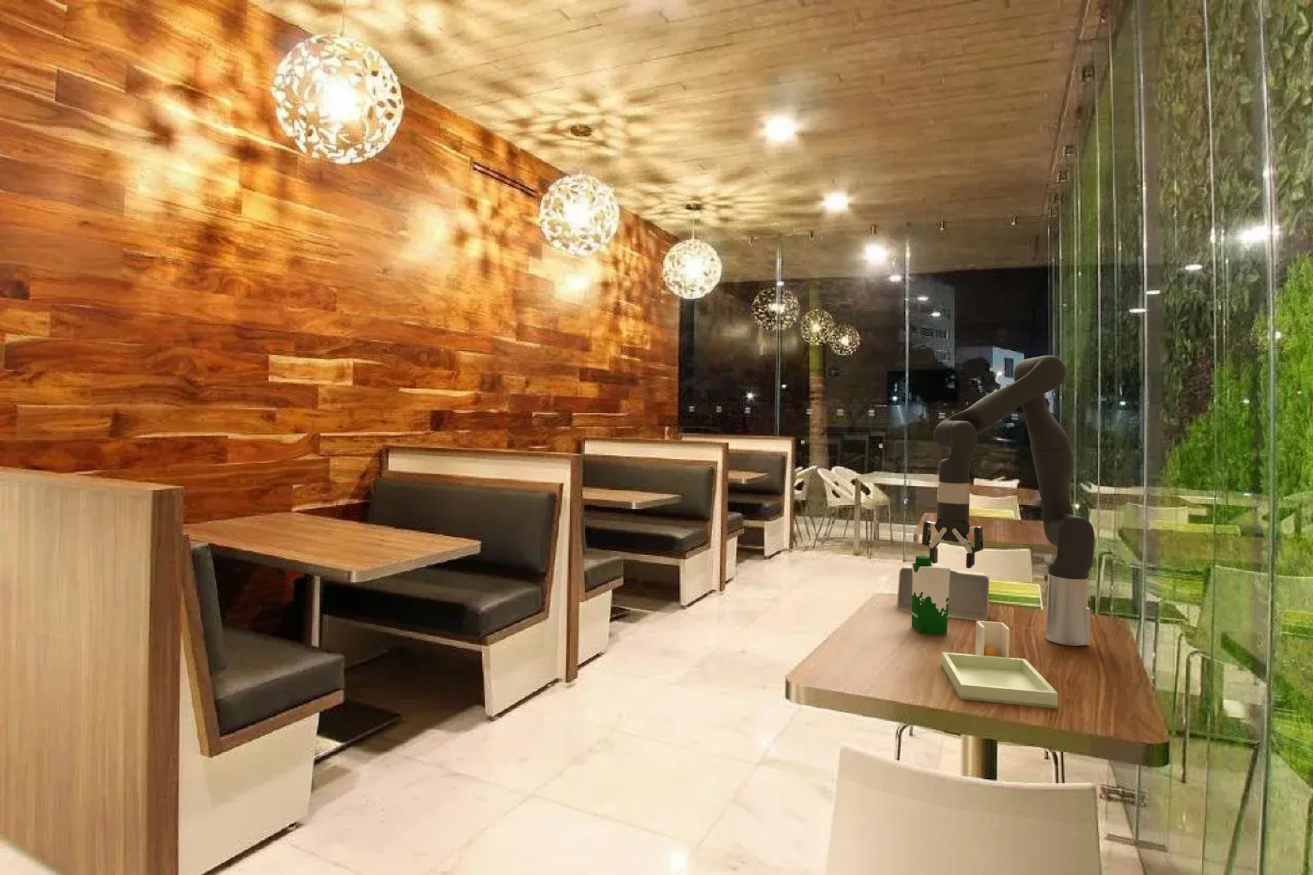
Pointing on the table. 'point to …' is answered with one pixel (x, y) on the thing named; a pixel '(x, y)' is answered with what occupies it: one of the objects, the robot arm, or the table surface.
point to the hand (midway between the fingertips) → (951, 565)
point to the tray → (998, 680)
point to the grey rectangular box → (952, 593)
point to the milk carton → (930, 596)
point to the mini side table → (992, 637)
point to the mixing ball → (990, 651)
